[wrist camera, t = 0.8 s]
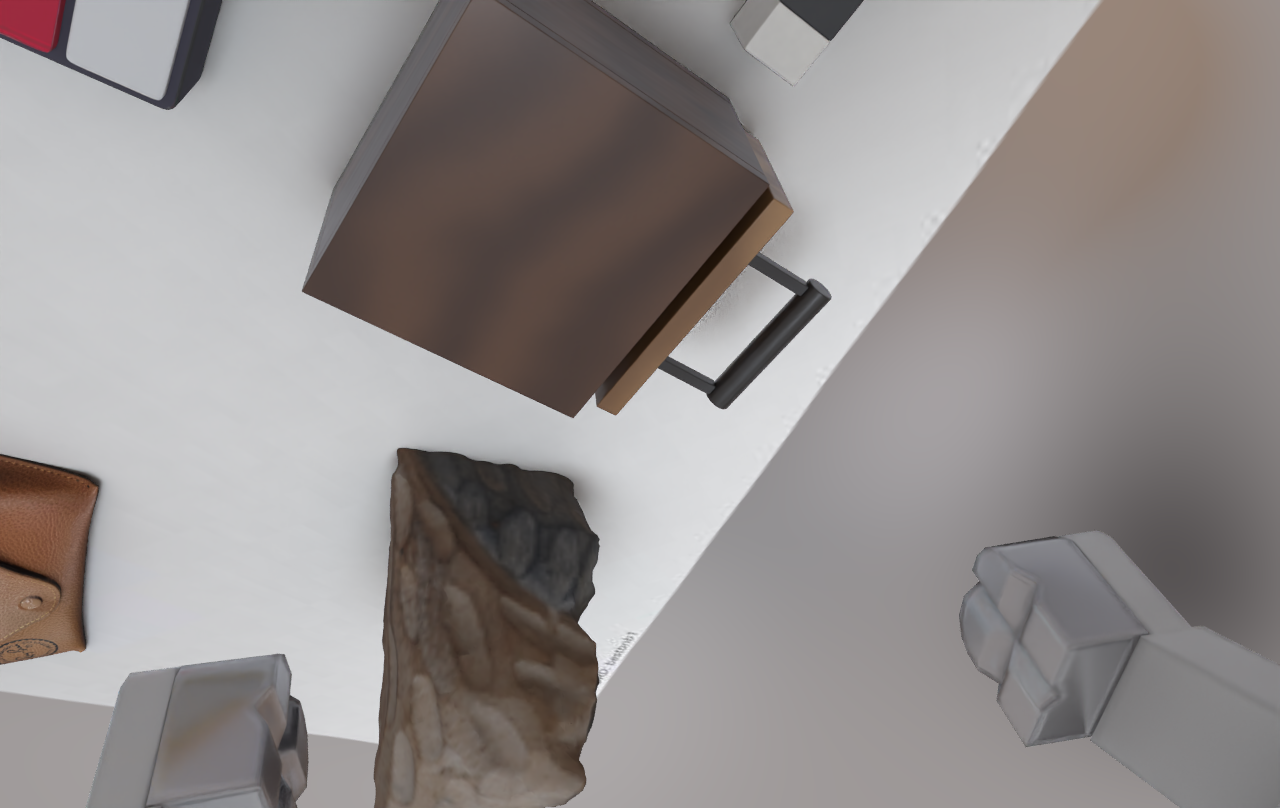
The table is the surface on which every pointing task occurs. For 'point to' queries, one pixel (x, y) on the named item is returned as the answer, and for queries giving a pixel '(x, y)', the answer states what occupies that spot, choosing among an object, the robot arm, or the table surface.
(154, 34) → the red white panel box
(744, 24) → the black and white block
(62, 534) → the sunglasses case
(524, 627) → the owl
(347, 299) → the cabinet
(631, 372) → the drawer
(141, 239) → the table surface
